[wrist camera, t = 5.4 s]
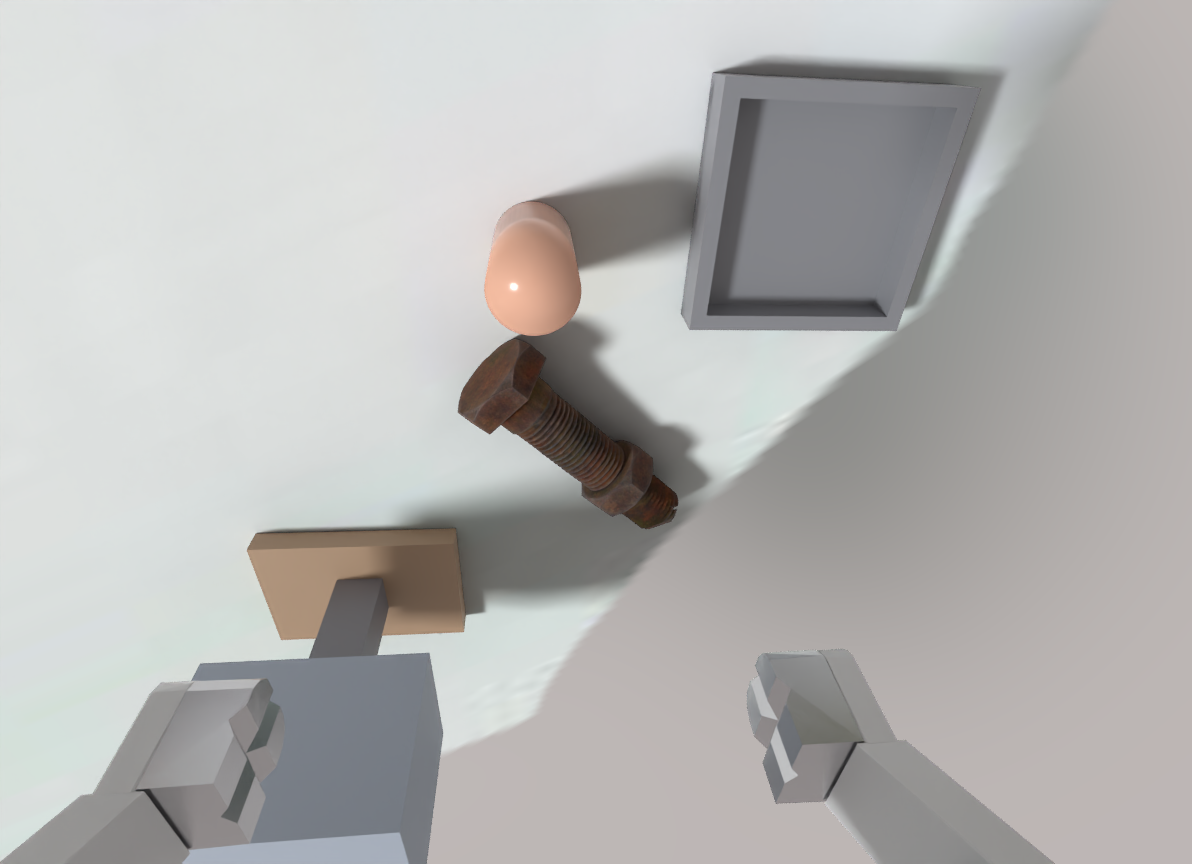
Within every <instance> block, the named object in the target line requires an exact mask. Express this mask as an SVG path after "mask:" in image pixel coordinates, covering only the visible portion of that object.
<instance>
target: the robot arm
mask: <svg viewBox="0 0 1192 864" xmlns="http://www.w3.org/2000/svg"><path fill="white" fill-rule="evenodd" d="M755 666H756V669H757V672H758V676H757V677H755V678H754V679H753V680H752V681H750V685H749V688H748V692H747V709H748V714H749V720H750V724H751V727H752V730H753V734H754V737H755V738H756V739H758V740H759V741H760V742H761V743H762V744H763V745H764V746H765V747H766V748H767V751H766V754H765V757H764V760H763V765H764V768H765V771H766V775H767V778H768V781H769V784H770V787H771V790H772V793H773V796H774V799H775V802H776V804H778V803H800V802H821V801H826V802H825V805H826V806H827V808H828V809H829V810H830V811H831V812H832V813H833V814H834V816H835V817H836V818H837V819H838V820H839V821H840V823H841V824H842V825H843V826H844V827H845V828H846V829H847V830H848V832H849V833H850V834H851V835H852V836H853V837H854V838H855V840H856V841H857V842H858V843H859V844H860V845H861V847H862V848H863V849H864V850H865V851H866V852H867V853H868V855H869V856H870V857H871V858H872V859H873V860H874V861H875V862H876V864H1054V862H1052V861H1051V860H1050V859H1049V858H1048V857H1046V856H1045V855H1044V854H1043V853H1042V852H1040V851H1039V850H1038V849H1037V848H1036V847H1034V846H1033V845H1032V844H1031V843H1030V842H1028V841H1027V840H1026V839H1024V838H1023V837H1022V836H1021V835H1020V834H1018V833H1017V832H1016V831H1015V830H1014V829H1013V828H1011V827H1010V826H1009V825H1008V824H1006V823H1005V822H1004V821H1003V820H1002V819H1000V818H999V817H998V816H997V815H996V814H994V813H993V812H992V811H991V810H989V809H988V808H987V807H986V806H985V805H984V804H982V803H981V802H980V801H979V800H977V799H976V798H975V797H974V796H973V795H971V794H970V793H969V792H968V791H967V790H965V789H964V788H963V787H962V786H960V785H959V784H958V783H957V782H956V781H954V780H953V779H952V778H951V777H949V776H948V775H947V774H946V773H945V772H944V771H942V770H941V769H940V768H939V767H938V766H936V765H935V764H934V763H933V762H931V761H930V760H929V759H928V758H927V757H925V756H924V755H923V754H922V753H920V752H919V751H918V750H917V749H916V748H915V747H913V746H912V745H911V744H910V743H908V742H907V741H906V740H897V739H896V737H895V735H894V733H893V731H892V729H891V728H890V725H889V724H888V722H887V720H886V718H885V716H884V714H883V712H882V710H881V708H880V706H879V704H878V703H877V701H876V699H875V697H874V695H873V693H872V691H871V689H870V687H869V685H868V684H867V682H866V680H865V678H864V676H863V674H862V672H861V670H860V668H859V666H858V664H857V663H856V661H855V659H854V657H853V655H852V654H851V653H850V652H849V651H848V650H845V649H834V650H833V649H832V650H817V651H816V650H804V651H790V652H775V653H763V654H761V655H760V656H759V657H758V660H757V662H756V665H755ZM272 693H273V689H272V687H271V685H270V683H269V681H268V679H267V678H263V679H239V680H214V681H182V682H163V683H160V684H159V685H158V686H157V687H156V688H155V689H154V690H153V691H152V692H151V693H150V694H149V696H148V698H147V700H146V701H145V703H144V705H143V707H142V708H141V710H140V712H139V714H138V715H137V717H136V719H135V721H134V722H133V724H132V726H131V727H130V729H129V731H128V733H127V734H126V736H125V738H124V740H123V741H122V743H121V745H120V747H119V748H118V750H117V752H116V754H115V755H114V757H113V759H112V761H111V762H110V764H109V766H108V768H107V769H106V771H105V773H104V775H103V776H102V778H101V780H100V782H99V783H98V785H97V787H96V789H95V790H94V792H93V794H86V795H81V796H79V797H78V798H77V799H76V800H75V801H73V802H72V803H71V804H70V805H69V806H67V807H66V808H65V809H64V810H62V811H61V812H60V813H59V814H58V815H56V816H55V817H54V818H53V819H52V820H50V821H49V822H48V823H47V824H46V825H44V826H43V827H42V828H41V829H39V830H38V831H37V832H36V833H35V834H33V835H32V836H31V837H30V838H29V839H27V840H26V841H25V842H24V843H22V844H21V845H20V846H19V847H18V848H16V849H15V850H14V851H13V852H12V853H10V854H9V855H8V856H7V857H5V858H4V859H3V860H2V861H1V862H0V864H182V863H183V861H184V860H185V859H186V858H187V857H188V856H189V855H190V852H189V850H195V849H205V848H214V847H224V846H233V845H243V844H250V842H251V839H252V836H253V833H254V830H255V827H256V824H257V821H258V819H259V816H260V813H261V810H262V807H263V804H264V801H265V798H266V796H265V793H264V790H263V788H262V785H261V782H262V781H263V780H264V779H265V778H266V777H267V776H268V775H269V774H270V773H271V772H272V771H273V770H274V769H275V768H276V766H277V763H278V760H279V757H280V754H281V751H282V747H283V740H284V733H285V723H284V715H283V712H282V710H281V707H280V706H278V705H277V704H275V703H273V702H271V701H270V698H271V695H272Z"/></svg>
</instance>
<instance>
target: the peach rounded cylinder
mask: <svg viewBox="0 0 1192 864" xmlns="http://www.w3.org/2000/svg"><path fill="white" fill-rule="evenodd" d="M484 291H485V298H486V302H487V304H488V307H489V309H490V311H491V312H492V314H493V315H494V317H495V318H496V319H497V320H498V321H499V322H500V323H501V324H502V325H504V326H505V327H506V328H508V329H510V330H512V331H514V332H516V333H519V334H523V335H530V336H539V335H545V334H549V333H552V332H554V331H556V330H558V329H560V328H561V327H563V326H564V325H565V324H567V323H568V321H569V320H570V319H571V318H572V317H573V315H574V314H575V312H576V310H577V308H578V306H579V303H580V299H581V283H580V278H579V272H578V267H577V262H576V257H575V251H574V246H573V241H572V236H571V231H570V228H569V226H568V224H567V222H566V220H565V219H564V217H563V216H562V215H561V214H560V213H559V212H558V211H557V210H555V209H554V208H553V207H551V206H549V205H547V204H544V203H540V202H533V201H531V202H522V203H519V204H516V205H514V206H512V207H511V208H509V209H508V210H507V211H506V212H505V213H504V214H503V215H502V216H501V217H500V219H499V221H498V222H497V225H496V227H495V231H494V236H493V241H492V247H491V252H490V257H489V262H488V268H487V273H486V278H485V289H484Z"/></svg>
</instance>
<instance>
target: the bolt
mask: <svg viewBox="0 0 1192 864" xmlns="http://www.w3.org/2000/svg"><path fill="white" fill-rule="evenodd" d="M545 360H546V357H544V356H543V355H542V354H541V353H540V352H539V351H537V350H536V349H535V348H534V347H533V346H532V345H530V344H528V343H526V342H524V341H521V340H518V339H512V340H510V341H508V342H506V343H504V344H502V345H501V346H499V347H498V348H497V349H496V350H495V351H494V352H493V353H492V354H491V355H490V356H489V357H488V358H486V359H485V360H484V361H483V362H482V364H481V365H480V366H479V367H478V368H477V369H476V371H475V372H474V373H473V375H472V376H471V378H470V379H469V381H468V382H467V383H466V385H465V386H464V388H463V390H462V393H461V396H460V400H459V406H458V413H459V414H461V415H462V416H463V417H465V418H466V419H467V420H469V421H470V422H471V423H473V424H474V425H476V426H477V427H479V428H480V429H482V430H484V431H485V432H487V433H488V434H491V433H492V432H493V431H494V430H496V429H497V428H498V427H499V426H500V425H502V426H503V427H505V428H506V429H507V430H509V431H510V432H511V433H513V434H517V435H519V436H520V437H521V438H522V439H524V440H525V441H527V442H528V443H529V444H530V445H532V446H533V447H534V448H536V449H537V450H538V451H540V452H541V453H542V454H543V455H545V456H546V457H547V458H549V459H550V460H551V461H554V463H555V464H558V466H560V467H561V468H562V469H563V470H565V471H566V472H568V473H569V474H570V475H571V476H573V477H574V478H576V479H577V480H578V481H580V482H581V483H582V496H583V497H584V498H586V499H587V500H588V501H590V502H591V503H592V504H594V505H595V506H597V507H598V508H600V509H601V510H603V511H604V512H606V513H607V514H609V515H610V516H612V517H613V516H615V515H618V514H621V513H622V514H624V515H625V516H626V517H628V518H629V519H630V520H632V521H633V522H635V524H637V525H638V526H639V527H641V528H645V529H650V528H654V527H657V526H660V525H662V524H665V523H668V522H671V521H672V519H673V518H674V516H675V513H676V511H677V509H675V510H673V508H674V507H676V506H678V497H677V495H676V493H675V492H674V491H672V489H670V488H669V487H668V486H666V485H665V484H664V483H663V482H662V481H660V480H659V479H658V478H656V477H655V475H653V458H652V457H650V456H649V455H648V454H647V453H646V452H645V451H643V450H642V449H641V448H639V447H637V446H636V445H634V444H632V443H630V442H627V441H624V440H621V441H617V442H614V441H613V440H611V439H610V438H609V437H607V436H606V435H605V434H603V432H602V431H600V430H599V429H598V428H596V426H594V425H593V424H592V423H591V422H590V421H588V420H587V419H586V418H584V416H583V415H581V414H580V413H579V412H578V411H576V410H575V409H574V408H573V407H572V406H571V405H569V404H568V403H567V402H566V401H564V400H563V399H562V398H560V396H559V395H557V394H556V393H555V392H554V391H553V390H552V389H551V387H550V386H549V385H548V384H547V383H546V382H544V381H543V380H542V379H541V378H540V377H539V374H540V372H541V369H542V367H543V365H544V362H545Z"/></svg>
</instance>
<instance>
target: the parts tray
mask: <svg viewBox="0 0 1192 864" xmlns="http://www.w3.org/2000/svg"><path fill="white" fill-rule="evenodd" d="M980 90H981V88H976V87H969V86H961V85H953V84H934V83H913V82H893V81H872V80H852V79H831V78H811V77H790V76H770V75H749V74H729V73H713V74H712V81H711V89H710V96H709V104H708V112H707V119H706V127H705V135H704V142H703V150H702V157H701V165H700V173H699V180H698V188H697V195H696V203H695V211H694V218H693V226H692V234H691V241H690V249H689V256H688V264H687V272H686V279H685V287H684V295H683V302H682V310H681V314H682V316H683V318H684V320H685V322H686V324H687V326H688V328H689V330H825V331H897V328H898V325H899V322H900V319H901V316H902V314H903V311H904V308H905V305H906V302H907V299H908V296H909V293H910V291H911V288H912V285H913V282H914V279H915V276H916V273H917V271H918V268H919V265H920V262H921V259H922V256H923V253H924V250H925V248H926V245H927V242H928V239H929V236H930V233H931V230H932V227H933V225H934V222H935V219H936V216H937V213H938V210H939V207H940V205H941V202H942V199H943V196H944V193H945V190H946V187H947V184H948V182H949V179H950V176H951V173H952V170H953V167H954V164H955V161H956V159H957V156H958V153H959V150H960V147H961V144H962V141H963V138H964V136H965V133H966V130H967V127H968V124H969V121H970V118H971V116H972V113H973V110H974V107H975V104H976V101H977V98H978V95H979V93H980Z"/></svg>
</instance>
